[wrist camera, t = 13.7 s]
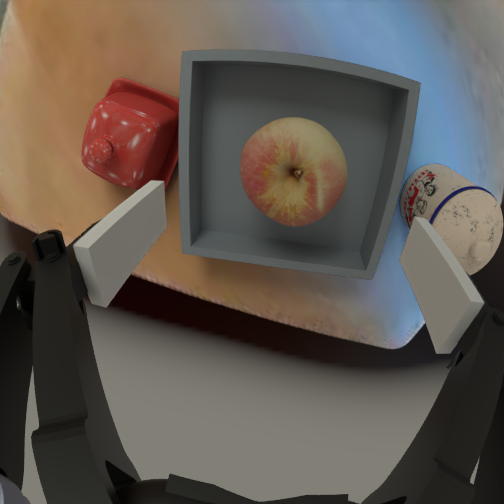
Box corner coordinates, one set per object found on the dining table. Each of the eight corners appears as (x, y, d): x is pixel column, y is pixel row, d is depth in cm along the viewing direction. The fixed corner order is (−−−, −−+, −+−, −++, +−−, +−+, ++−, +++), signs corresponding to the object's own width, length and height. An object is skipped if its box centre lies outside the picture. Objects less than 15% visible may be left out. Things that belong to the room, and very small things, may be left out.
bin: (196, 231, 34) (182, 253, 29) (200, 57, 23) (181, 51, 19) (363, 254, 32) (371, 280, 28) (400, 83, 21) (420, 82, 17)
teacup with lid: (408, 151, 25) (463, 188, 15) (471, 172, 24) (531, 215, 14) (380, 249, 31) (408, 318, 21) (440, 259, 30) (477, 323, 21)
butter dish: (204, 107, 26) (171, 114, 19) (165, 197, 32) (130, 231, 25) (119, 74, 24) (70, 76, 17) (92, 159, 30) (47, 182, 23)
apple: (301, 216, 29) (301, 257, 23) (231, 164, 28) (209, 191, 21) (357, 154, 25) (378, 177, 18) (284, 95, 23) (280, 95, 16)
